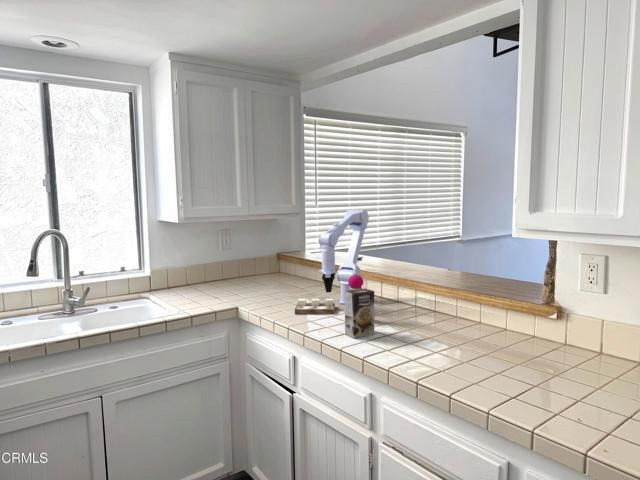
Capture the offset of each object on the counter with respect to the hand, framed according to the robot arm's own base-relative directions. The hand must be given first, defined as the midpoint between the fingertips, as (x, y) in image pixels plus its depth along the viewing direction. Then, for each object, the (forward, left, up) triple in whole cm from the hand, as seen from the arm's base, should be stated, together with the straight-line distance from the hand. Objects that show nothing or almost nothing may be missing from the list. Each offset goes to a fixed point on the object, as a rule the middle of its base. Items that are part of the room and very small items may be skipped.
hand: (328, 290), depth 196 cm
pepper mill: (-11, +17, -9) cm, 22 cm away
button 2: (0, 0, -7) cm, 7 cm away
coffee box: (-12, +34, -9) cm, 37 cm away
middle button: (+6, 0, -7) cm, 9 cm away
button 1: (+12, 0, -7) cm, 14 cm away
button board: (+6, +1, -8) cm, 10 cm away
